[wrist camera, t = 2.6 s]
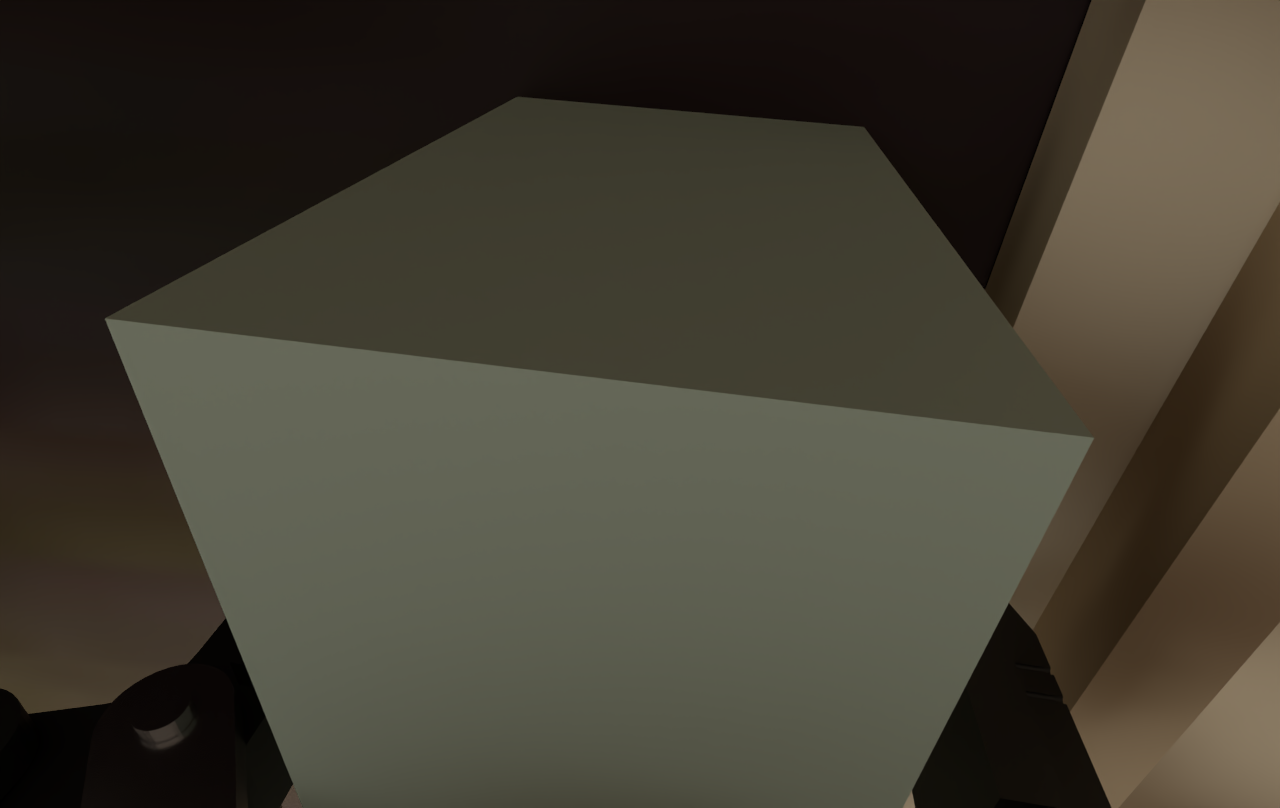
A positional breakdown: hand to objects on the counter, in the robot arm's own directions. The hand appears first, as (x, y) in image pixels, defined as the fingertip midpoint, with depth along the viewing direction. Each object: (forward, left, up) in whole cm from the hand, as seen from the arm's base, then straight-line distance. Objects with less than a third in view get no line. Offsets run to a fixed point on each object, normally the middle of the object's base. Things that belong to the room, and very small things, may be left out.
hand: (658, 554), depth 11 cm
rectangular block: (0, 0, -2) cm, 2 cm away
